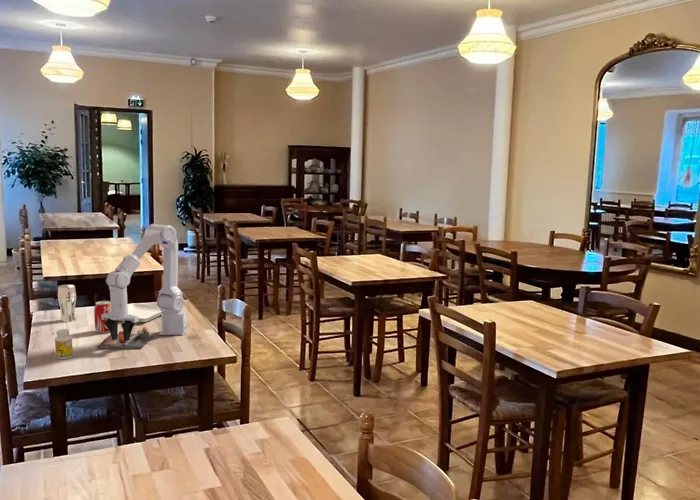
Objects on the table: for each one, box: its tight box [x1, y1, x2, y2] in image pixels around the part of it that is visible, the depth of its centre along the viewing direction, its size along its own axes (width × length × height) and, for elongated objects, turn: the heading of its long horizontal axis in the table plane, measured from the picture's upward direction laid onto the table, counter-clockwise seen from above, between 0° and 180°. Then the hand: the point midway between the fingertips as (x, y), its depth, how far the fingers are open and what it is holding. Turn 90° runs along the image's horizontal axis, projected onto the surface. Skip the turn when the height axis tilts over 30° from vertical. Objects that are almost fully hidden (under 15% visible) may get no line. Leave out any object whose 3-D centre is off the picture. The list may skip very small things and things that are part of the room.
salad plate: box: [127, 302, 162, 323], centre depth 269 cm, size 21×21×3 cm
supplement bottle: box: [54, 328, 74, 360], centre depth 214 cm, size 5×5×10 cm
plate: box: [96, 326, 154, 350], centre depth 232 cm, size 16×16×5 cm
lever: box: [118, 329, 143, 345], centre depth 232 cm, size 17×3×5 cm, turn 169°
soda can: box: [93, 300, 111, 334], centre depth 245 cm, size 7×7×12 cm
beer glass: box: [57, 284, 77, 323], centre depth 261 cm, size 7×7×15 cm
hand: (120, 339), depth 226 cm, fingers open, 5 cm apart
